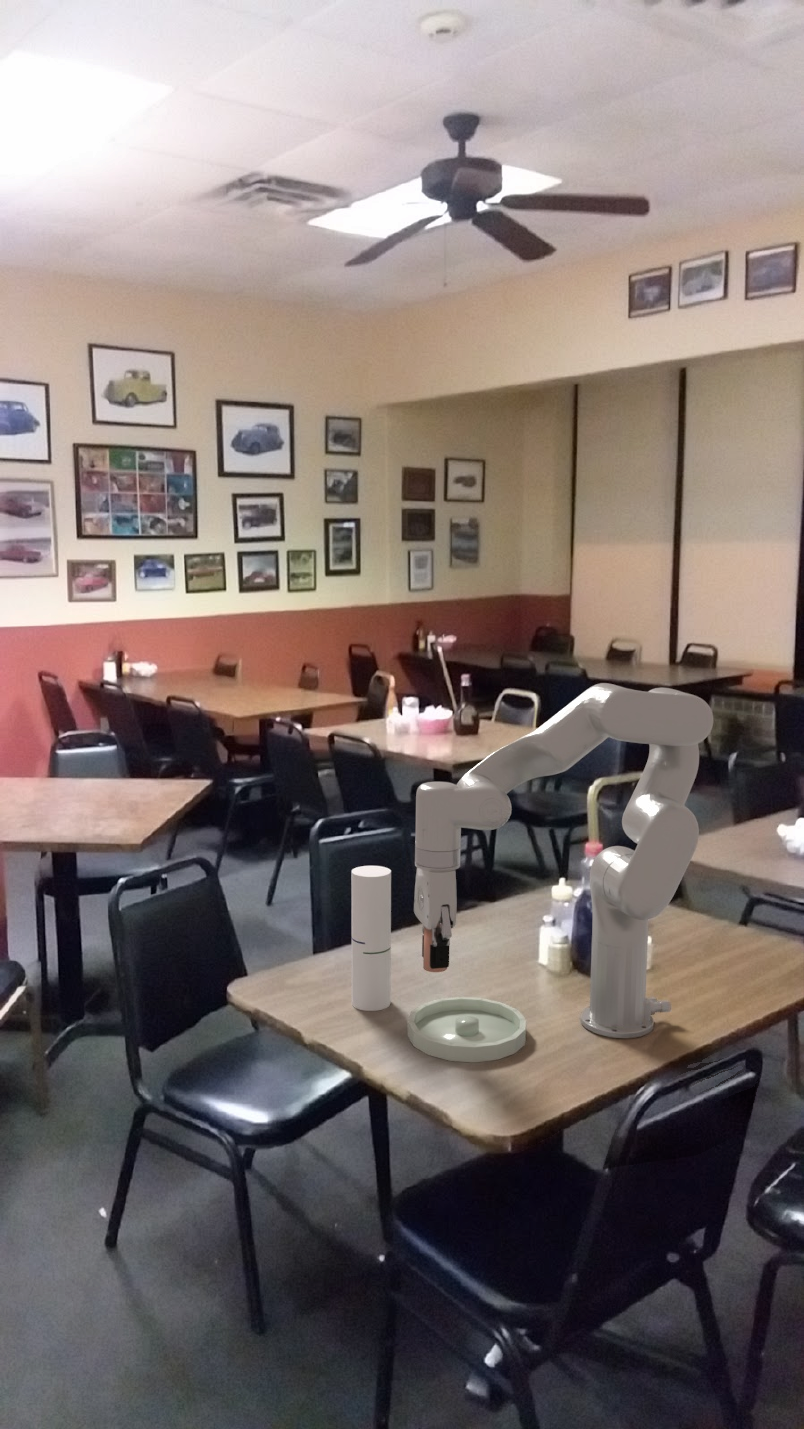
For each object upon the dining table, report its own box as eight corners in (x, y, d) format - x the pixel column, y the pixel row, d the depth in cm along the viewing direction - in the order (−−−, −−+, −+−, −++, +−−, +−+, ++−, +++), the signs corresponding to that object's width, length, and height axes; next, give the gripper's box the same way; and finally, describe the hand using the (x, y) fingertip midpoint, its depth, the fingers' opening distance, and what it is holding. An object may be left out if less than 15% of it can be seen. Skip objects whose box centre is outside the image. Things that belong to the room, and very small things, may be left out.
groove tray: (502, 1005, 195) (502, 992, 195) (543, 1054, 176) (543, 1039, 176) (396, 1016, 190) (396, 1002, 190) (426, 1067, 171) (426, 1052, 171)
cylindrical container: (365, 992, 201) (365, 863, 198) (397, 1000, 197) (398, 869, 194) (344, 1005, 195) (343, 872, 191) (377, 1014, 191) (377, 879, 188)
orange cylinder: (420, 964, 181) (421, 924, 180) (443, 962, 182) (444, 923, 181) (426, 973, 177) (427, 932, 176) (450, 971, 178) (450, 930, 178)
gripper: (403, 845, 184) (401, 946, 187) (429, 872, 168) (427, 983, 171) (444, 842, 186) (442, 943, 189) (474, 869, 170) (471, 979, 173)
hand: (435, 961), depth 180 cm, fingers closed on orange cylinder, 3 cm apart
